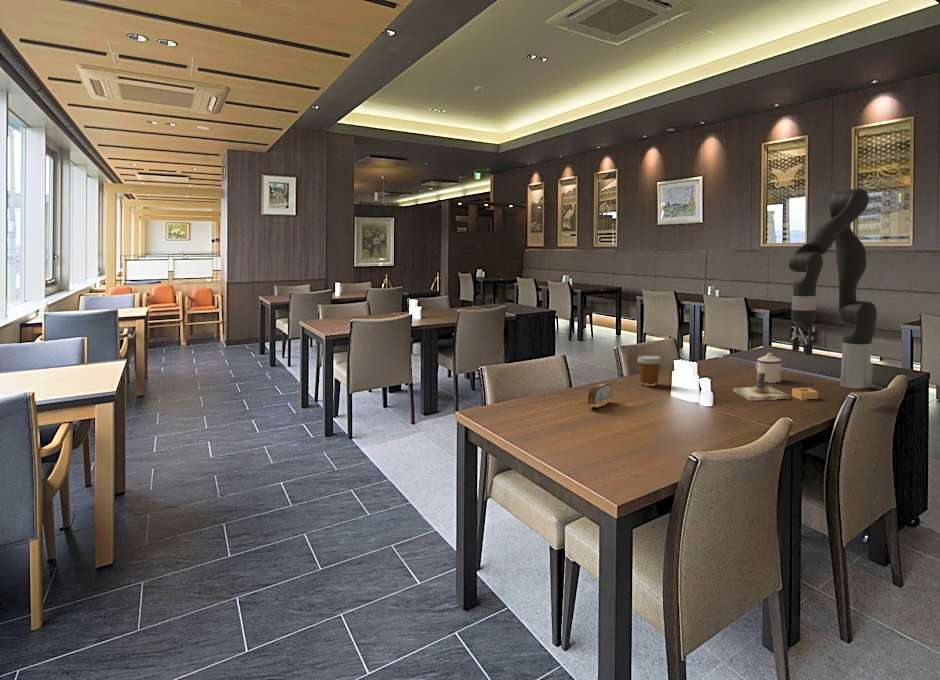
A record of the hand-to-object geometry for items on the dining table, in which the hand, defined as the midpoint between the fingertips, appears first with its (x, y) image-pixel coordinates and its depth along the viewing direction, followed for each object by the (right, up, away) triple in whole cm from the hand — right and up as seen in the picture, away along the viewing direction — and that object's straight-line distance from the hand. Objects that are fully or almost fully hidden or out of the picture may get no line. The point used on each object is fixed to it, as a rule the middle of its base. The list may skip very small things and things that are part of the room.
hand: (801, 352), depth 204 cm
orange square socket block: (+2, -17, +1) cm, 17 cm away
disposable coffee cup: (-46, -15, +31) cm, 57 cm away
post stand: (-11, -16, +8) cm, 21 cm away
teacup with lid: (+3, -12, +31) cm, 33 cm away
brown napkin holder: (-72, -20, +3) cm, 75 cm away
